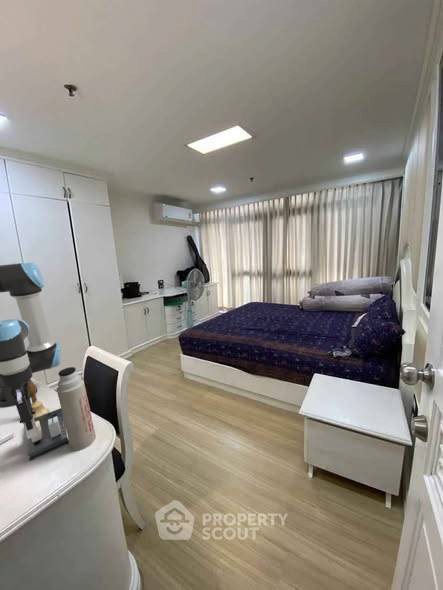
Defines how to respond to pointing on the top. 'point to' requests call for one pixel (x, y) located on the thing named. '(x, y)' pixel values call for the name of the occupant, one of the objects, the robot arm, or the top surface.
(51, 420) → the fader
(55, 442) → the console
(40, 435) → the fader
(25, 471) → the top surface
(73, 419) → the thermos bottle
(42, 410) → the hand bell
